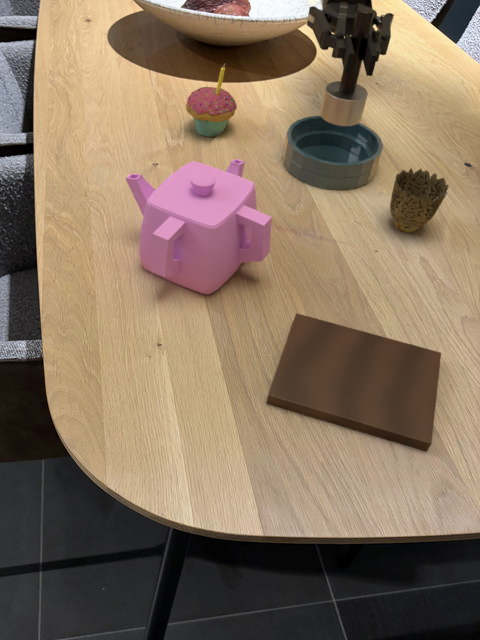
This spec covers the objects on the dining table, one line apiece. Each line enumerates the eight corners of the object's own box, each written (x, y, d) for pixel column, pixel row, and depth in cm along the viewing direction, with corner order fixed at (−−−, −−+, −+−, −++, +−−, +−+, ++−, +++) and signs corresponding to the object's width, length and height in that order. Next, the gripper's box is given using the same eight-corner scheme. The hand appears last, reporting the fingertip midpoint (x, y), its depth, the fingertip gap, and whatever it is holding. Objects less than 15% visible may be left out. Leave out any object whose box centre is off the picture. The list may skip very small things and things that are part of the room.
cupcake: (242, 129, 107) (250, 59, 98) (216, 148, 103) (222, 76, 93) (202, 113, 110) (206, 44, 101) (175, 131, 105) (177, 60, 96)
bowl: (380, 154, 104) (388, 127, 100) (366, 202, 95) (375, 173, 91) (293, 135, 107) (298, 107, 103) (272, 180, 97) (276, 151, 94)
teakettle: (153, 306, 77) (153, 226, 68) (125, 227, 87) (121, 148, 78) (277, 286, 81) (293, 207, 71) (235, 212, 91) (245, 135, 82)
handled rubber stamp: (364, 111, 95) (392, 6, 84) (357, 129, 91) (385, 22, 80) (324, 103, 96) (347, -2, 85) (316, 121, 92) (338, 13, 81)
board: (436, 360, 74) (441, 352, 73) (426, 451, 65) (431, 443, 64) (294, 321, 77) (296, 312, 76) (266, 403, 68) (268, 395, 67)
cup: (384, 209, 94) (400, 162, 88) (432, 221, 92) (451, 175, 86) (375, 236, 89) (391, 188, 83) (425, 249, 88) (445, 202, 82)
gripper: (386, 31, 101) (408, 96, 85) (294, 24, 101) (299, 87, 86) (400, -20, 95) (426, 40, 80) (302, -28, 95) (309, 30, 80)
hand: (360, 64), depth 83 cm, fingers closed on handled rubber stamp, 2 cm apart
